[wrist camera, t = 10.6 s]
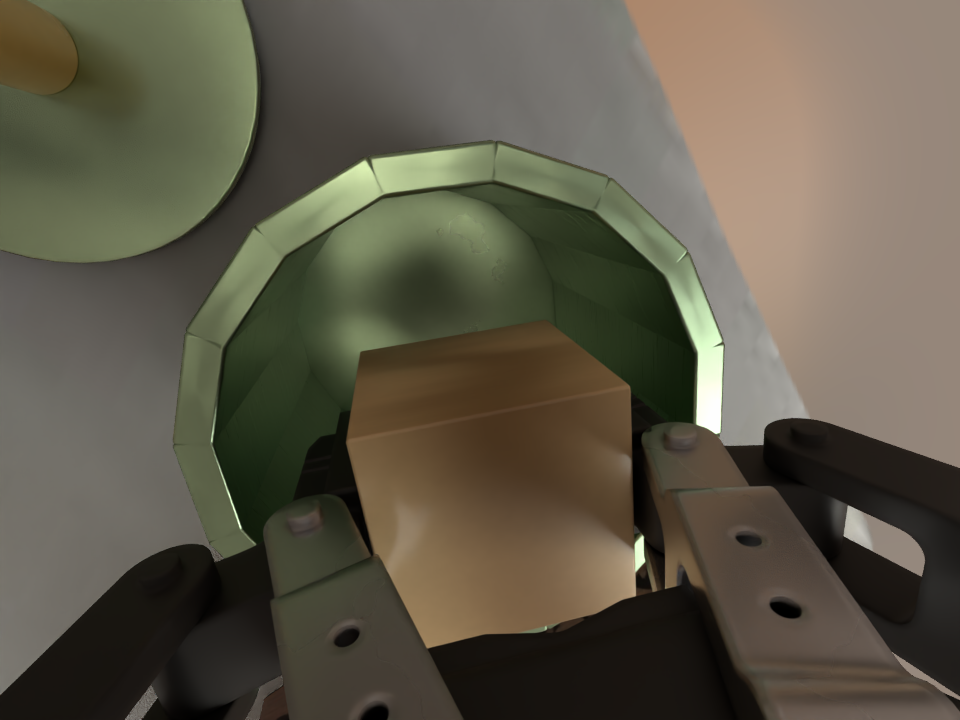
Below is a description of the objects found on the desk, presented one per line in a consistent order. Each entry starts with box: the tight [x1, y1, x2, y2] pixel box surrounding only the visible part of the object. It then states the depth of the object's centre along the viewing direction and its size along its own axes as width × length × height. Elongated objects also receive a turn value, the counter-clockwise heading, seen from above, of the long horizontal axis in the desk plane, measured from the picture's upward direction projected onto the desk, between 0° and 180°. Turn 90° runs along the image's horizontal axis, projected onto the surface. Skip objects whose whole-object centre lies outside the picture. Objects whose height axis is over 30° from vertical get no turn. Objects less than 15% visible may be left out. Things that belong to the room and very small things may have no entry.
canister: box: [173, 140, 725, 633], centre depth 17 cm, size 13×13×12 cm
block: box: [346, 320, 636, 648], centre depth 11 cm, size 4×4×4 cm
